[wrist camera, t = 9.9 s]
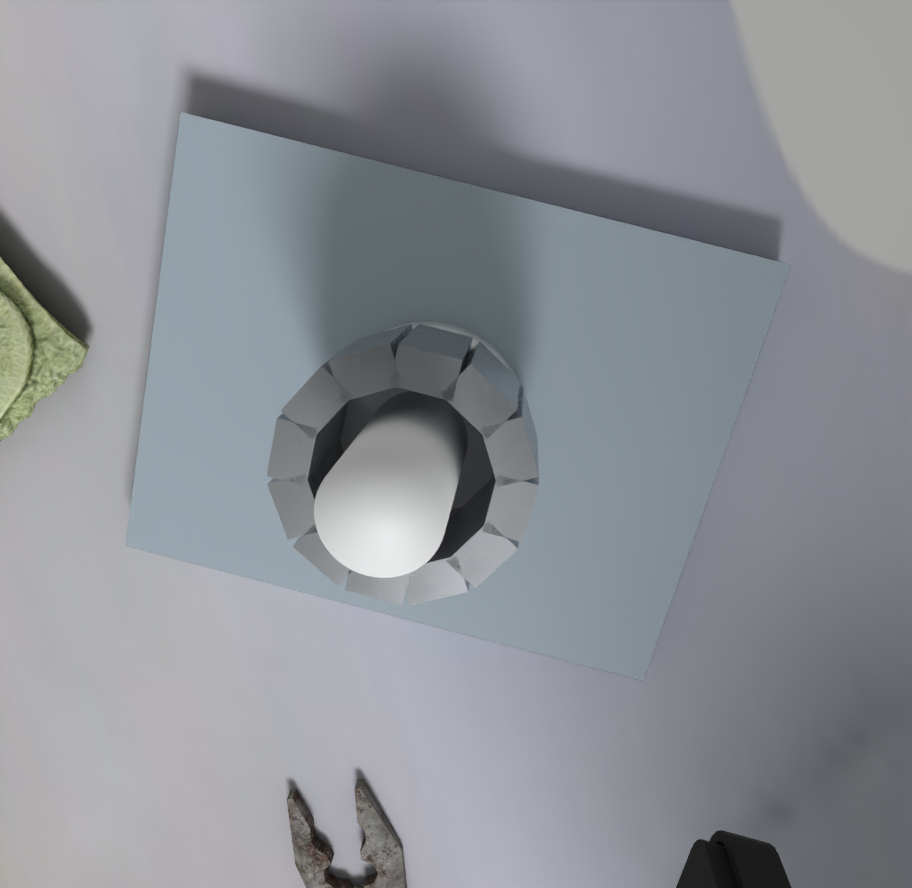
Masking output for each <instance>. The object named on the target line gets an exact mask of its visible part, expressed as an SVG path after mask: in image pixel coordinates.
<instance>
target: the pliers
mask: <svg viewBox="0 0 912 888" xmlns="http://www.w3.org/2000/svg"><path fill="white" fill-rule="evenodd" d="M355 797H356V808H357V819H358V823H359V824H360V826H362V828H363V831H365V832H364V833H365V836H366V837H365V838H364V841H363V843H362V847H361V850H360V853H361V860H364V861H366V862H369V863H371V864H373V865H374V867H375V869H376V871H377V873H375V874H372V875H370V876H367V877H366V879H365V883H364V884H363V885H355V886H353V885H352V883H351V881H350V880H349V879H343V878H336V877H335V876H334V875H332V874H331V873H330V872H329V871H328V868H327V867H328V866H329V865H330V864H331V862H332V859H333V856H334V853H333V851H332V849H331V848H330V846H329V845H327V844H326V843H324V842H321V840H319V838H318V837H317V835H315V834H316V833H314V832H315V831H314V828H313V827H314V822H313V821H314V819H313V817H312V815H311V814H310V812H309V810H308V809H307V807H306V805H305V804H304V802H303V800H302V799H301V797H300V795H299V793H298V792H297V790H296V789H294V790H291V791H290V794H289V796H288V798H287V804H288V812H289V819H290V827H291V834H292V842H293V849H294V857H295V864H296V867H297V869H298V871H299V873H300V875H301V877H302V879H303V882H304V884H305V886H306V888H407V883H406V874H405V864H404V855H403V846H402V844H401V842H400V841H399V839H398V837H397V835H396V834H395V832H394V830H393V829H392V827H391V825H390V824H389V822H388V820H387V819H386V817H385V815H384V814H383V812H382V810H381V809H380V807H379V805H378V803H377V802H376V800H375V798H374V797H373V795H372V793H371V792H370V790H369V788H368V787H367V785H366V783H365V782H364V780H357V783H356V786H355Z"/></svg>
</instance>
